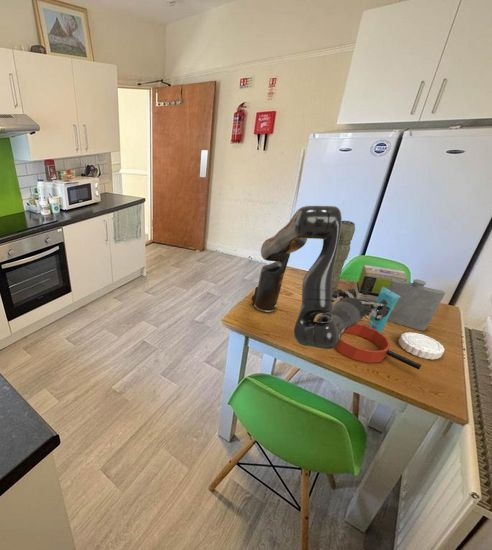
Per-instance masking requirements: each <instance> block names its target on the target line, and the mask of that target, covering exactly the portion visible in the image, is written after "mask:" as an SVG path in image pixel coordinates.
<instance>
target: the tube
mask: <svg viewBox="0 0 492 550" xmlns="http://www.w3.org/2000/svg"><path fill="white" fill-rule="evenodd" d="M399 298H400V296H399V295H397V294H395V293H393V292H391V291H390V290H388V289H386V288H384V287H383V286H382V288H381V291H380V294H379V296H378V299H377V302H376V303H380V302H381V301H382V300H383V299H384V300H386V302H387V305H386V307H389V308H390V310H389V312H388V315H387V316H385V317H384V318H382V319H381V320H379V321H377V320H375V317H374V316H372V315H370V317H369V320H368V321H367V324H366V326H368V327H370V328H372V329H375V330H377V331H378V332H380V333H381V334H382V332H383V329H384V328H385V325H386V323H387V321H388V320H387V319H388V317H389V316H390V314H391V312H392V310H393V308H394V306H395V304H396V303H397V301H398V299H399ZM375 309H377V307H376V308H375Z"/></svg>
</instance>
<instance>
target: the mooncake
mask: <svg viewBox="0 0 492 550" xmlns="http://www.w3.org/2000/svg"><path fill="white" fill-rule="evenodd" d="M398 345H399V346H400V347H401V349H403V350H405V352H406V353H410V355H412V356H416V357H418V358H421V359H425V360H438V359H441V358H442V356H443V354H444V352H445V350H446V349H445V347H444V345H443V344H441V342H439V341H437V340H436V339H435V338H432V337H430V336H428V335H425V334H423V333H418V332H413V331H412V332H411V331H408V332H404V333H402V334H401V335H400V337H399V338H398Z"/></svg>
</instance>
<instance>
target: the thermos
mask: <svg viewBox="0 0 492 550" xmlns="http://www.w3.org/2000/svg"><path fill="white" fill-rule="evenodd" d="M355 232H356V223H355V222H354V221H350V220H342V224H341V232H340V238H339V244H338V250H337V255H336V261H335V266H334V272H333V283H332V294H333V293H334V292H335V291H337V288H338V286H339V283H340V280H341V277H340V276H341V273H342V270H343V268H344V265H345V262H346V261H347V259H348V257H349V254H350V251H351V243H352V242H351V241H352V240H353V237H354V234H355Z"/></svg>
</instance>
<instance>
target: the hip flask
mask: <svg viewBox="0 0 492 550" xmlns="http://www.w3.org/2000/svg"><path fill="white" fill-rule="evenodd" d="M426 284H427V282H426V281H425V280H422V279H417V278H416V279H413V282H409V281H407V282H405V281H400V280H397V279H392V281H391V283H390V285H389V287H388V290H390V291H391V292H393V293H395V294H397V295H399V296H400V298H399V299H398V301H397V303H396V304H395V306H394V308H393V310H392V312H391V314H390V316H389V317H388V319H387V321H388V322H391V323H393V324H397V325H401V326H404V327H407V328H411V329H414V330H419V331H426V329H428V328H427V327H428V326H429V324H430V322H431V320H432V319H433V317H434V315H435V313H436V311H437V310H438V308H439V306H440V304H441V302H442V300H443V299H444V296H445V295H446V291H444V290H441V289H437V288H432V287H428V286H426Z"/></svg>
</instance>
